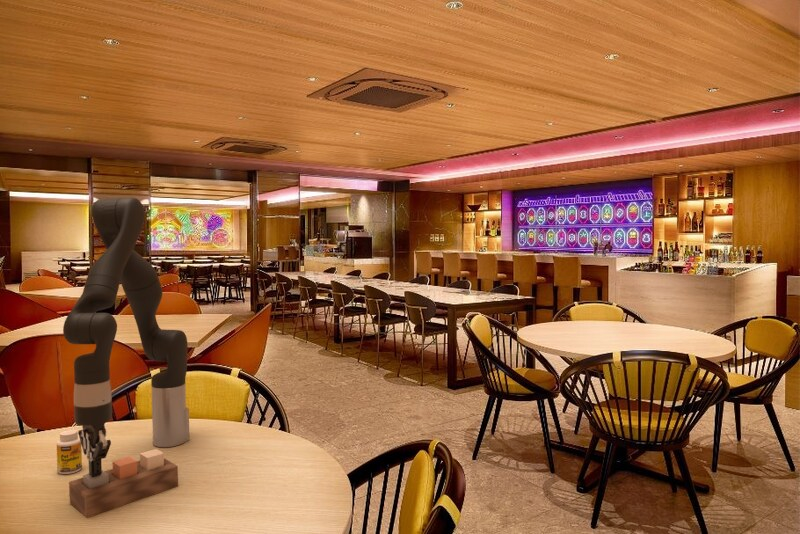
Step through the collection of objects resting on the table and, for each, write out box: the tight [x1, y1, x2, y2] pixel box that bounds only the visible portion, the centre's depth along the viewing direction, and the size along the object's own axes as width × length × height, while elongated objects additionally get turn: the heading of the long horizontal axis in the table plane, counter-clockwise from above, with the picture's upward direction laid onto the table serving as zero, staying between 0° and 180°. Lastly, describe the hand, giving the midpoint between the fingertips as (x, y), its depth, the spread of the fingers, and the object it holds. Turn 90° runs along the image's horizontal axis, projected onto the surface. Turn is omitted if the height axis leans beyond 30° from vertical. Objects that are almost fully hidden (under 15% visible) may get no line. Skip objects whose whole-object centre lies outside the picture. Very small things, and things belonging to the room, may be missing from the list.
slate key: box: [82, 470, 109, 489], centre depth 133 cm, size 4×4×4 cm
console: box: [68, 458, 179, 518], centre depth 138 cm, size 21×10×5 cm, turn 138°
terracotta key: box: [112, 456, 138, 480], centre depth 137 cm, size 4×4×4 cm
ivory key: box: [139, 448, 165, 471], centre depth 142 cm, size 4×4×4 cm
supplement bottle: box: [56, 429, 83, 475], centre depth 150 cm, size 6×6×10 cm
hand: (95, 475), depth 132 cm, fingers closed
